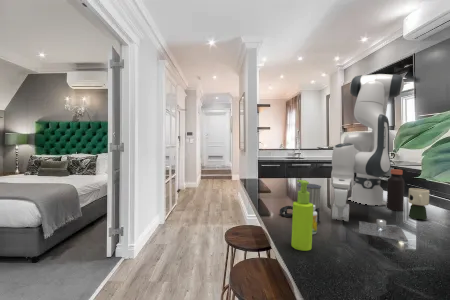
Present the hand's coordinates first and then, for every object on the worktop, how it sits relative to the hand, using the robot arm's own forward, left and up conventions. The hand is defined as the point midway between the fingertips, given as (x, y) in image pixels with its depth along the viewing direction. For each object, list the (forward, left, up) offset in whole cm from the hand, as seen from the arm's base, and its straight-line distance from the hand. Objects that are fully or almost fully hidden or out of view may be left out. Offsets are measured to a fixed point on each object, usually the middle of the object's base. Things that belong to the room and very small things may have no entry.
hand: (340, 213), depth 105 cm
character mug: (-19, +30, -2) cm, 35 cm away
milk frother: (+11, -15, -2) cm, 19 cm away
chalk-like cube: (0, 0, -2) cm, 2 cm away
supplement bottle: (+25, -9, -2) cm, 27 cm away
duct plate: (+9, +14, -2) cm, 17 cm away
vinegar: (-33, +23, -2) cm, 40 cm away
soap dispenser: (+39, -9, -2) cm, 40 cm away
